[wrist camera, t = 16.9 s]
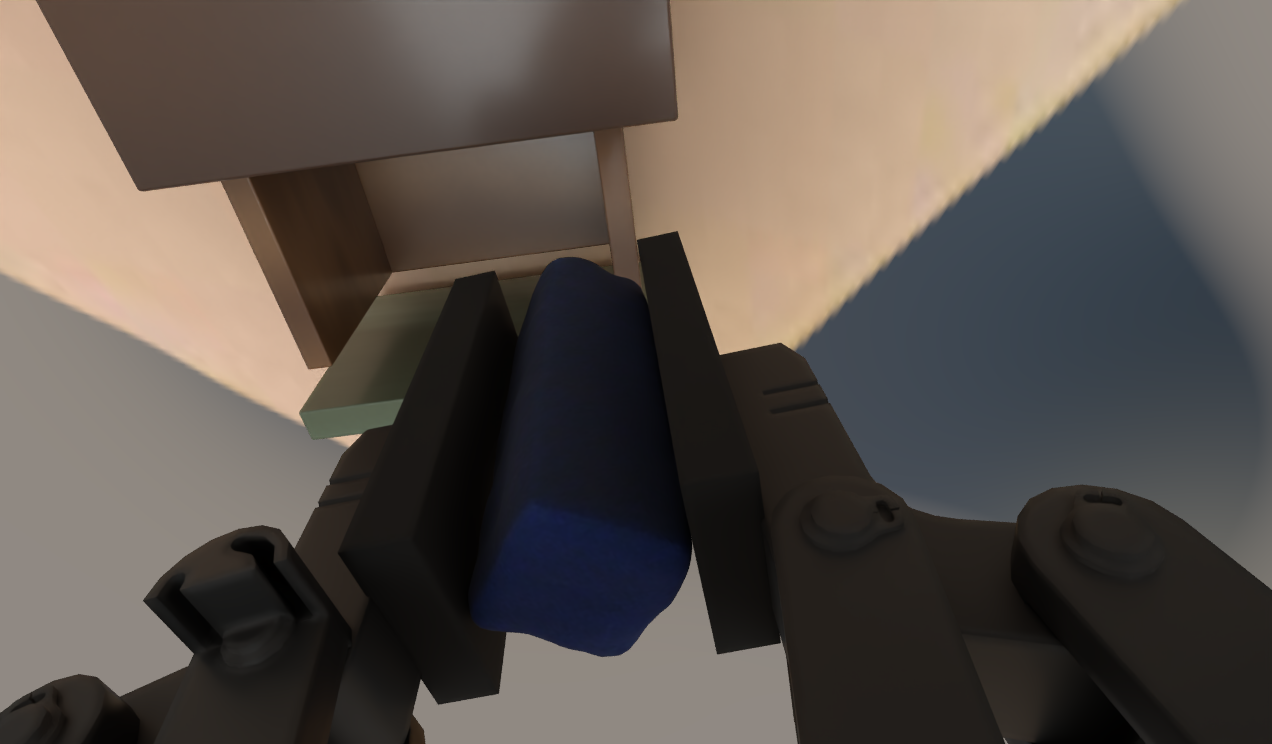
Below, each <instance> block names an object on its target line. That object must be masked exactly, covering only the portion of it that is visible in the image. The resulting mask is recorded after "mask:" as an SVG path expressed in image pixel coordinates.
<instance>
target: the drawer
mask: <svg viewBox="0 0 1272 744" xmlns="http://www.w3.org/2000/svg"><path fill="white" fill-rule="evenodd" d="M221 183H222V185H223V187H224V189H225V191H226V193H227V195H228V198H229V200H230V202H231V204H232V206H233V208H234V210H235V213H236V215H237V217H238V219H239V221H240V223H241V226H242V228H243V230H244V232H245V234H246V236H247V238H248V241H249V243H250V245H251V247H252V249H253V251H254V253H255V256H256V258H257V260H258V262H259V264H260V266H261V269H262V271H263V273H264V275H265V277H266V279H267V281H268V284H269V286H270V288H271V290H272V292H273V294H274V296H275V299H276V301H277V303H278V305H279V307H280V309H281V312H282V314H283V316H284V318H285V320H286V322H287V324H288V327H289V329H290V331H291V333H292V335H293V337H294V339H295V342H296V344H297V346H298V348H299V350H300V352H301V355H302V357H303V359H304V361H305V363H306V365H307V367H308V369H316V368H323V367H329V368H328V369H327V371H326V372H325V374H324V375H323V377H322V378H321V380H320V381H319V383H318V384H317V386H316V387H315V389H314V391H313V392H312V394H311V395H310V397H309V398H308V400H307V401H306V403H305V404H304V406H303V407H302V409H301V410H300V412H299V414H300V416H301V418H302V420H303V422H304V424H305V426H306V428H307V430H308V432H309V434H310V436H311V438H312V439H313V440H315V439H324V438H332V437H340V436H347V435H355V434H363V433H364V432H365V431H366V430H368V429H373V428H378V427H383V426H388V425H393V423H394V420H395V418H396V416H397V413H398V411H399V409H400V407H401V404H402V402H403V400H404V397H405V395H406V393H407V390H408V388H409V386H410V383H411V381H412V379H413V376H414V374H415V372H416V369H417V367H418V365H419V362H420V360H421V358H422V355H423V353H424V351H425V349H426V346H427V344H428V342H429V339H430V337H431V335H432V332H433V330H434V328H435V325H436V323H437V321H438V318H439V316H440V314H441V311H442V309H443V307H444V304H445V302H446V300H447V298H448V295H449V293H450V291H451V288H452V287H445V288H437V289H429V290H422V291H414V292H407V293H399V294H391V295H384V296H378V294H379V293H380V291H381V289H382V288H383V286H384V285H385V283H386V282H387V280H388V279H389V277H390V276H391V274H392V272H400V271H408V270H415V269H423V268H430V267H438V266H446V265H453V264H461V263H468V262H476V261H484V260H491V259H499V258H506V257H514V256H522V255H529V254H537V253H544V252H552V251H560V250H567V249H575V248H582V247H590V246H598V245H605V244H610V251H611V258H612V266H605V267H602V268H603V269H604V270H606V271H608V272H609V273H611V274H614V275H616V276H620V277H625V278H629V279H631V280H633V281H634V282H636V283H637V284H638V285H639V286H640V287H641V289H642V291H643V293H644V295H645V298H646V300H647V295H646V290H645V284H644V278H643V273H642V267H641V262H639V260H638V252H637V243H636V235H635V227H634V218H633V210H632V202H631V193H630V185H629V176H628V168H627V160H626V151H625V143H624V135H623V128H616V129H608V130H601V131H593V132H586V133H578V134H571V135H563V136H556V137H548V138H541V139H533V140H526V141H518V142H511V143H503V144H496V145H488V146H481V147H473V148H466V149H458V150H451V151H443V152H436V153H428V154H421V155H413V156H405V157H398V158H390V159H383V160H375V161H368V162H360V163H353V164H345V165H338V166H330V167H323V168H315V169H308V170H300V171H293V172H285V173H278V174H270V175H263V176H255V177H248V178H240V179H233V180H225V181H221ZM540 276H541V275H536V276H528V277H521V278H513V279H506V280H498V281H499V284H500V286H501V289H502V292H503V295H504V298H505V301H506V304H507V307H508V309H509V312H510V315H511V318H512V321H513V324H514V327H515V330H516V333H517V335H518V336H519V333H520V330H521V327H522V325H523V322H524V319H525V316H526V313H527V310H528V307H529V304H530V301H531V297H532V294H533V292H534V289H535V287H536V285H537V282H538V280H539V278H540ZM647 303H648V301H647Z"/></svg>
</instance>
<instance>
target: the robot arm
mask: <svg viewBox="0 0 1272 744" xmlns="http://www.w3.org/2000/svg"><path fill="white" fill-rule="evenodd" d="M637 244H638V250H639V256H640V261H641V267H642V273H643V278H644V284H645V290H646V295H647V301H648V307H649V312H650V318H651V324H652V330H653V335H654V341H655V347H656V352H657V358H658V364H659V369H660V375H661V381H662V386H663V392H664V398H665V403H666V409H667V415H668V420H669V426H670V432H671V437H672V443H673V449H674V454H675V460H676V466H677V471H678V477H679V483H680V488H681V493H682V497H683V502H684V506H685V511H686V515H687V520H688V524H689V529H690V533H691V538H692V542H693V547H694V551H695V556H696V561H697V565H698V569H699V574H700V578H701V583H702V588H703V592H704V597H705V601H706V606H707V610H708V615H709V619H710V624H711V628H712V633H713V638H714V642H715V647H716V651H717V654H722V653H727V652H734V651H739V650H745V649H750V648H756V647H762V646H767V645H773V644H778V643H781V641H780V636H781V640H782V643H783V646H784V650H785V653H786V659H787V667H788V674H789V683H790V691H791V699H792V707H793V716H794V722H795V728H796V735H797V742H798V744H1005V742H1004V739H1003V738H1005V740H1006V741H1007V743H1008V744H1272V590H1271V589H1270V588H1269V587H1267V586H1266V585H1265V584H1264V583H1262V582H1261V581H1260V580H1258V579H1257V578H1256V577H1255V576H1254V575H1252V574H1251V573H1250V572H1248V571H1247V570H1246V569H1245V568H1243V567H1242V566H1241V565H1240V564H1238V563H1237V562H1236V561H1235V560H1233V559H1232V558H1231V557H1230V556H1228V555H1227V554H1226V553H1224V552H1223V551H1222V550H1221V549H1219V548H1218V547H1217V546H1216V545H1214V544H1213V543H1212V542H1211V541H1209V540H1208V539H1207V538H1206V537H1204V536H1203V535H1202V534H1201V533H1199V532H1198V531H1197V530H1195V529H1194V528H1193V527H1192V526H1190V525H1189V524H1188V523H1186V522H1185V521H1184V520H1183V519H1181V518H1179V517H1178V516H1176V515H1174V514H1173V513H1171V512H1169V511H1168V510H1166V509H1164V508H1163V507H1161V506H1159V505H1158V504H1156V503H1155V502H1153V501H1151V500H1148V499H1145V498H1142V497H1139V496H1136V495H1133V494H1130V493H1127V492H1124V491H1121V490H1118V489H1113V488H1105V487H1097V486H1088V485H1075V486H1066V487H1058V488H1051V489H1049V490H1047V491H1045V492H1043V493H1041V494H1039V495H1037V496H1035V497H1033V498H1031V499H1029V501H1028V502H1027V503H1026V505H1025V507H1024V508H1023V509H1022V511H1021V512H1020V514H1019V515H1018V518H1017V523H1009V522H995V521H979V520H963V519H954V518H947V517H940V516H934V515H931V514H928V513H924V512H921V511H918V510H915V509H912V508H910V507H908V506H907V504H906V503H905V501H904V500H903V498H901V497H900V496H898V495H897V494H895V493H894V492H892V491H891V490H889V489H888V488H886V487H885V486H883V485H882V484H879V483H876V482H875V481H874V480H873V478H872V477H871V476H870V474H869V473H868V470H867V469H866V467H865V465H864V463H863V462H862V460H861V458H860V456H859V454H858V452H857V451H856V449H855V447H854V445H853V443H852V442H851V440H850V438H849V436H848V435H847V433H846V431H845V430H844V427H843V426H842V424H841V422H840V420H839V418H838V417H837V415H836V413H835V412H834V410H833V408H832V406H831V404H830V403H828V399H827V397H826V395H825V393H824V391H823V390H822V388H821V386H820V385H818V382H817V379H816V377H815V375H814V373H813V372H812V370H811V368H810V366H809V364H808V363H807V361H806V359H805V358H804V357H802V356H801V355H799V354H797V353H796V352H794V351H793V350H791V349H790V348H788V347H787V346H785V345H783V344H782V343H777V344H772V345H767V346H762V347H757V348H752V349H747V350H742V351H738V352H733V353H728V354H723V355H719V352H718V349H717V346H716V343H715V340H714V337H713V334H712V331H711V328H710V325H709V323H708V320H707V317H706V314H705V311H704V308H703V305H702V302H701V299H700V296H699V293H698V290H697V287H696V284H695V281H694V278H693V275H692V272H691V269H690V266H689V263H688V261H687V258H686V255H685V252H684V249H683V246H682V243H681V240H680V237H679V234H678V231H676V232H671V233H667V234H662V235H658V236H653V237H648V238H644V239H639V240H637ZM517 340H518V335H517V333H516V330H515V327H514V324H513V321H512V318H511V315H510V312H509V309H508V307H507V304H506V301H505V298H504V295H503V292H502V289H501V286H500V284H499V281H498V278H497V275H496V272H495V271H491V272H486V273H482V274H477V275H472V276H468V277H463V278H458V279H455V281H454V284H453V286H452V288H451V291H450V293H449V295H448V298H447V300H446V302H445V304H444V307H443V309H442V311H441V314H440V316H439V318H438V321H437V323H436V325H435V328H434V330H433V332H432V335H431V337H430V339H429V342H428V344H427V346H426V349H425V351H424V353H423V355H422V358H421V360H420V362H419V365H418V367H417V369H416V372H415V374H414V376H413V379H412V381H411V383H410V386H409V388H408V390H407V393H406V395H405V397H404V400H403V402H402V404H401V407H400V409H399V411H398V413H397V416H396V418H395V420H394V423H393V425H388V426H383V427H378V428H373V429H368V430H366V431H365V432H364V433H363V434H362V435H361V436H360V437H359V438H358V439H357V440H356V441H355V442H354V443H353V444H352V445H351V446H350V447H349V448H348V449H347V450H346V451H345V452H344V453H343V455H342V456H341V458H340V460H339V462H338V464H337V466H336V468H335V470H334V472H333V474H332V476H331V478H330V480H329V481H330V485H329V486H326V488H325V490H324V492H323V494H322V496H321V498H320V500H319V502H318V503H319V507H318V508H315V509H314V511H313V514H312V515H311V517H310V519H309V522H308V523H307V525H306V527H305V529H304V531H303V533H302V535H301V537H300V539H299V541H298V543H297V545H296V547H295V549H294V548H293V547H292V545H291V544H290V542H289V541H288V540H287V538H286V537H285V536H284V534H283V533H282V532H281V530H280V529H276V528H272V527H268V526H263V525H261V526H255V527H249V528H242V529H238V530H235V531H233V532H230V533H228V534H225V535H223V536H220V537H218V538H215V539H213V540H211V541H209V542H207V543H206V544H205V545H203V546H201V547H199V548H198V549H196V550H194V551H193V552H191V553H190V554H188V555H187V556H185V557H184V558H182V560H180V561H179V562H178V563H177V564H176V565H174V567H172V568H171V569H170V570H169V571H168V572H166V573H165V574H164V575H163V576H162V577H161V578H160V579H159V580H158V582H157V583H156V584H155V585H154V587H153V588H152V589H151V591H150V592H149V593H148V595H147V596H146V597H145V598H144V600H143V601H144V602H145V603H146V604H147V606H148V607H149V608H150V609H151V610H152V611H153V612H154V613H155V614H156V615H157V616H158V617H159V618H160V619H161V620H162V621H163V622H164V623H165V624H166V625H167V626H168V627H169V628H170V629H171V630H172V631H173V632H174V634H175V635H176V636H177V637H178V638H179V639H180V640H181V641H182V642H183V643H184V644H185V645H186V646H187V647H188V648H189V649H190V650H191V651H192V652H193V653H194V655H193V657H192V660H191V662H190V664H189V666H188V667H185V668H183V669H181V670H178V671H176V672H174V673H172V674H169V675H167V676H165V677H163V678H161V679H158V680H156V681H154V682H152V683H150V684H147V685H145V686H143V687H141V688H138V689H136V690H134V691H132V692H130V693H127V694H125V695H123V696H121V697H119V696H118V695H117V694H116V693H115V692H113V691H112V690H111V689H110V688H109V687H108V686H107V685H105V684H104V683H103V682H102V681H101V680H100V679H99V678H97V677H94V676H87V675H81V674H78V675H74V676H70V677H66V678H62V679H59V680H55V681H52V682H50V683H48V684H46V685H44V686H42V687H40V688H39V689H37V690H35V691H33V692H31V693H29V694H27V695H25V696H23V697H22V698H20V699H19V700H17V701H15V702H14V703H13V704H12V705H11V706H9V707H8V708H6V709H5V710H4V711H3V712H1V713H0V744H425V736H424V730H423V728H422V727H421V725H420V724H419V723H418V721H417V720H416V718H415V717H414V716H413V709H414V705H415V701H416V696H417V692H418V688H419V684H420V680H421V679H422V681H423V682H424V684H425V685H426V687H427V688H428V690H429V691H430V693H431V694H432V696H433V698H434V699H435V700H436V702H437V703H438V704H444V703H450V702H456V701H461V700H467V699H472V698H478V697H484V696H489V695H495V694H499V689H500V680H501V673H502V664H503V656H504V648H505V640H506V632H502V631H491V630H487V629H483V628H480V627H479V626H477V625H476V624H475V623H474V622H473V620H472V618H471V615H470V610H469V602H468V590H469V586H470V582H471V578H472V574H473V571H474V567H475V564H476V559H477V555H478V548H479V536H480V530H481V525H482V520H483V515H484V511H485V507H486V503H487V500H488V497H489V494H490V491H491V488H492V485H493V474H494V465H495V458H496V448H497V441H498V437H499V434H500V429H501V423H502V417H503V411H504V407H505V403H506V400H507V395H508V390H509V384H510V378H511V374H512V365H513V358H514V352H515V347H516V344H517Z"/></svg>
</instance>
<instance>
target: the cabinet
mask: <svg viewBox="0 0 1272 744" xmlns="http://www.w3.org/2000/svg"><path fill="white" fill-rule="evenodd" d="M36 1H37V3H38V5H39V7H40V9H41V11H42V12H43V14H44V16H45V18H46V20H47V22H48V24H49V25H50V27H51V29H52V31H53V33H54V35H55V37H56V38H57V40H58V42H59V44H60V46H61V48H62V50H63V51H64V53H65V55H66V57H67V59H68V61H69V62H70V64H71V66H72V68H73V70H74V72H75V74H76V75H77V77H78V79H79V81H80V83H81V85H82V87H83V88H84V90H85V92H86V94H87V96H88V98H89V100H90V101H91V103H92V105H93V107H94V109H95V111H96V113H97V114H98V116H99V118H100V120H101V122H102V124H103V126H104V127H105V129H106V131H107V133H108V135H109V137H110V139H111V140H112V142H113V144H114V146H115V148H116V150H117V152H118V153H119V155H120V157H121V159H122V161H123V163H124V164H125V166H126V168H127V170H128V172H129V174H130V176H131V177H132V179H133V181H134V183H135V185H136V187H137V189H138V190H139V191H150V190H158V189H165V188H173V187H180V186H188V185H195V184H203V183H210V182H218V181H225V180H233V179H240V178H248V177H255V176H263V175H270V174H278V173H285V172H293V171H300V170H308V169H315V168H323V167H330V166H338V165H345V164H353V163H360V162H368V161H375V160H383V159H390V158H398V157H405V156H413V155H421V154H428V153H436V152H443V151H451V150H458V149H466V148H473V147H481V146H488V145H496V144H503V143H511V142H518V141H526V140H533V139H541V138H548V137H556V136H563V135H571V134H578V133H586V132H593V131H601V130H608V129H616V128H623V127H631V126H638V125H646V124H653V123H661V122H668V121H675V120H677V119H678V106H677V93H676V79H675V66H674V52H673V39H672V25H671V12H670V0H36Z"/></svg>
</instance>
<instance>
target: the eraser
mask: <svg viewBox="0 0 1272 744" xmlns="http://www.w3.org/2000/svg"><path fill="white" fill-rule="evenodd" d="M691 554H692V539H691V533H690V529H689V524H688V520H687V515H686V511H685V506H684V502H683V497H682V493H681V488H680V483H679V477H678V471H677V466H676V460H675V454H674V449H673V443H672V437H671V432H670V426H669V420H668V415H667V409H666V403H665V398H664V392H663V386H662V381H661V375H660V369H659V364H658V358H657V352H656V347H655V341H654V335H653V330H652V324H651V318H650V312H649V307H648V303H647V300H646V298H645V295H644V293H643V291H642V289H641V287H640V286H639V285H638V284H637V283H636V282H634V281H633V280H631V279H629V278H625V277H620V276H616V275H614V274H611V273H609V272H608V271H606V270H604V269H603V268H602V267H600V266H598V265H597V264H595V263H593V262H591V261H588V260H586V259H582V258H577V257H565V258H558V259H556V260H554V261H552V262H551V263H550V264H549V265H548V266H547V267H546V268H545V270H544V271H543V273H542V274H541V276H540V278H539V280H538V282H537V285H536V287H535V289H534V292H533V294H532V297H531V301H530V304H529V307H528V310H527V313H526V316H525V319H524V322H523V325H522V327H521V330H520V333H519V336H518V340H517V344H516V347H515V352H514V358H513V365H512V374H511V378H510V384H509V390H508V395H507V400H506V403H505V407H504V411H503V417H502V423H501V429H500V434H499V437H498V441H497V448H496V458H495V465H494V474H493V485H492V488H491V491H490V494H489V497H488V500H487V503H486V507H485V511H484V515H483V520H482V525H481V530H480V536H479V548H478V555H477V559H476V564H475V567H474V571H473V574H472V578H471V582H470V586H469V590H468V602H469V610H470V615H471V618H472V620H473V622H474V623H475V624H476V625H477V626H479V627H480V628H483V629H487V630H491V631H502V632H515V633H524V634H530V635H532V636H535V637H538V638H541V639H544V640H547V641H550V642H552V643H555V644H557V645H559V646H562V647H565V648H568V649H572V650H578V651H583V652H587V653H590V654H593V655H597V656H600V657H607V656H617V655H621V654H623V653H624V652H626V651H628V650H629V649H630V648H631V647H632V646H633V644H634V643H635V642H636V641H637V640H638V638H639V637H640V635H641V634H642V632H643V631H644V629H645V628H646V627H647V626H648V624H649V623H650V622H651V621H653V619H654V618H655V617H656V616H657V615H659V613H661V612H662V611H663V610H664V609H666V608H667V607H668V606H669V605H670V604H671V603H672V601H673V600H674V598H675V596H676V595H677V593H678V591H679V589H680V588H681V585H682V583H683V581H684V579H685V577H686V575H687V572H688V569H689V566H690V561H691Z"/></svg>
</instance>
